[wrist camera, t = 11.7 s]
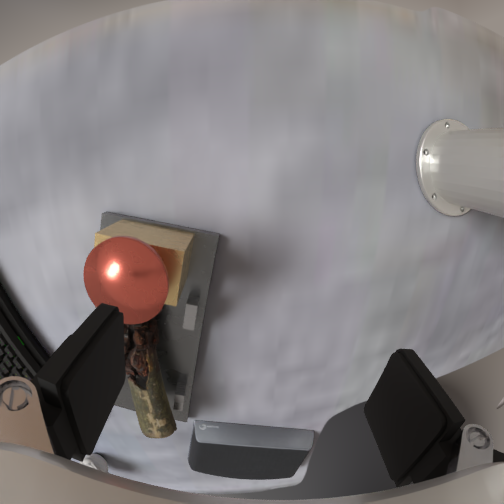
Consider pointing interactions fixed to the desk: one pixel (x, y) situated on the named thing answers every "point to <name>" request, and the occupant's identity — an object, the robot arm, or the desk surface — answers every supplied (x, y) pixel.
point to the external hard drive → (247, 450)
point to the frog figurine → (95, 462)
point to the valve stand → (156, 291)
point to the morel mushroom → (147, 380)
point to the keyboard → (17, 343)
